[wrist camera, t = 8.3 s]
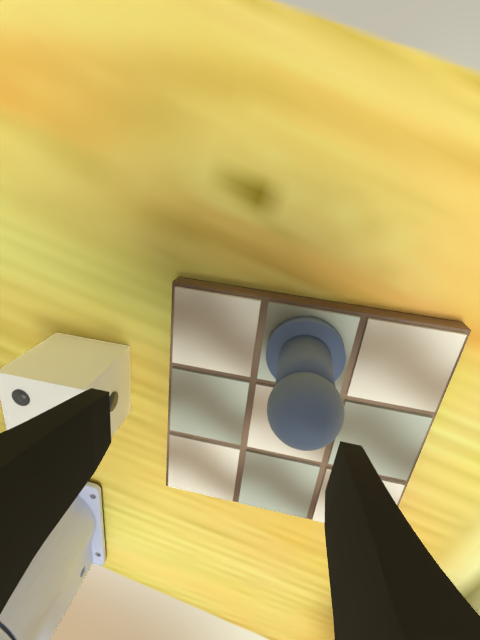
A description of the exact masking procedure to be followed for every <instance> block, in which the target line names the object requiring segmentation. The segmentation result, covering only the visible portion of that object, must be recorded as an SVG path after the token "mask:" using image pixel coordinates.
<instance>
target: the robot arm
mask: <svg viewBox="0 0 480 640" xmlns="http://www.w3.org/2000/svg"><path fill="white" fill-rule="evenodd" d="M110 443H111V423H110V396H109V392H108V391H103V390H98V389H94V388H90V389H88V390H86V391H84V392H82V393H80V394H78V395H76V396H74V397H72V398H70V399H68V400H66V401H64V402H62V403H61V404H59V405H57V406H55V407H53V408H51V409H49V410H47V411H45V412H43V413H41V414H39V415H37V416H35V417H33V418H31V419H30V420H28V421H26V422H24V423H22V424H19V425H17V426H15V427H13V428H11V429H9V430H7V431H4V432H2V433H0V640H51V638H52V636H53V635H54V633H55V631H56V629H57V627H58V625H59V624H60V622H61V620H62V618H63V616H64V615H65V613H66V611H67V609H68V607H69V606H70V604H71V602H72V600H73V598H74V596H75V595H76V593H77V591H78V589H79V587H80V586H81V584H82V582H83V580H84V578H85V576H86V574H87V573H88V571H89V569H90V567H91V565H92V564H96V565H103V564H104V563H105V561H106V552H105V538H104V525H103V511H102V497H101V488H100V486H99V485H97V484H95V483H91V482H88V481H89V479H90V478H91V477H92V475H93V474H94V472H95V471H96V469H97V467H98V465H99V464H100V462H101V460H102V458H103V457H104V455H105V453H106V451H107V449H108V447H109V445H110ZM325 537H326V547H327V558H328V568H329V578H330V587H331V597H332V607H333V617H334V633H335V640H480V616H479V615H478V614H477V612H476V611H475V610H474V609H473V608H472V607H471V605H470V604H469V603H468V602H467V601H466V599H465V598H464V597H463V596H462V595H461V593H460V592H459V591H458V590H457V588H456V587H455V586H454V584H453V583H452V582H451V581H450V579H449V578H448V577H447V576H446V574H445V573H444V572H443V571H442V569H441V568H440V567H439V565H438V564H437V563H436V561H435V560H434V559H433V557H432V556H431V555H430V553H429V552H428V550H427V549H426V548H425V546H424V545H423V543H422V542H421V540H420V539H419V538H418V536H417V535H416V533H415V532H414V530H413V529H412V527H411V526H410V524H409V523H408V521H407V520H406V518H405V517H404V515H403V514H402V512H401V511H400V509H399V507H398V506H397V504H396V503H395V501H394V500H393V498H392V496H391V495H390V493H389V492H388V490H387V488H386V487H385V485H384V483H383V481H382V480H381V478H380V476H379V475H378V473H377V471H376V469H375V468H374V466H373V464H372V462H371V461H370V459H369V457H368V455H367V454H366V452H365V450H364V449H363V447H362V446H361V445H356V444H351V443H347V442H342V441H340V444H339V447H338V450H337V453H336V457H335V460H334V463H333V467H332V470H331V473H330V477H329V480H328V483H327V486H326V490H325Z"/></svg>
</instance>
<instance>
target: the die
mask: <svg viewBox="0 0 480 640" xmlns="http://www.w3.org/2000/svg"><path fill="white" fill-rule="evenodd" d="M90 388H94V389H98V390H103V391H108V392H109V396H110V423H111V437H112V436H113V435H114V433H115V432H116V431H117V429H118V428H119V427H120V425H121V424H122V423H123V421H124V420H125V419H126V417H127V416H128V414H129V413H130V412H131V368H130V346H128V345H123V344H117V343H112V342H106V341H101V340H95V339H90V338H85V337H79V336H74V335H68V334H63V333H58V332H56V333H55V334H53V335H52V336H50V337H48V338H47V339H45V340H44V341H42V342H41V343H39V344H37V345H36V346H34V347H33V348H31V349H30V350H28V351H27V352H25V353H23V354H22V355H20V356H19V357H17V358H16V359H14V360H12V361H11V362H9V363H8V364H6V365H5V366H3V367H1V368H0V400H1V404H2V409H3V414H4V419H5V424H6V429H7V430H9V429H11V428H13V427H15V426H17V425H19V424H22V423H24V422H26V421H28V420H30V419H31V418H33V417H35V416H37V415H39V414H41V413H43V412H45V411H47V410H49V409H51V408H53V407H55V406H57V405H59V404H61V403H62V402H64V401H66V400H68V399H70V398H72V397H74V396H76V395H78V394H80V393H82V392H84V391H86V390H88V389H90Z"/></svg>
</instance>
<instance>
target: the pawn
mask: <svg viewBox="0 0 480 640" xmlns="http://www.w3.org/2000/svg"><path fill="white" fill-rule="evenodd" d="M345 361H346V354H345V348H344V344H343V340H342V338H341V336H340V334H339V333H338V331H337V330H336V329H335V328H334V327H333V326H332V325H331V324H330V323H328V322H327V321H325V320H323V319H320V318H317V317H313V316H297V317H293V318H290V319H288V320H286V321H284V322H282V323H281V324H280V325H278V326H277V327H276V328H275V329H274V331H273V332H272V334H271V336H270V338H269V340H268V345H267V349H266V362H267V366H268V369H269V371H270V373H271V374H272V375H273V377H274V378H275V379H276V381H275V386H274V388H273V389H272V391H271V393H270V395H269V398H268V402H267V417H268V422H269V424H270V427H271V429H272V431H273V432H274V434H275V435H276V436H277V437H278V438H279V439H280V440H281V441H282V442H283V443H284V444H286V445H287V446H289V447H291V448H294V449H297V450H302V451H313V450H318V449H321V448H323V447H325V446H327V445H328V444H330V443H331V442H332V441H333V440H334V439H335V438H336V437H337V435H338V434H339V432H340V430H341V428H342V426H343V422H344V404H343V401H342V398H341V396H340V394H339V392H338V390H337V389H336V386H335V381H336V380H337V379H338V378H339V376H340V375H341V373H342V371H343V369H344V366H345Z"/></svg>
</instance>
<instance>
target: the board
mask: <svg viewBox="0 0 480 640" xmlns="http://www.w3.org/2000/svg"><path fill="white" fill-rule="evenodd" d="M297 316H313V317H317V318H320V319H323V320H325V321H327V322H328V323H330V324H331V325H332V326H333V327H334V328H335V329H336V330H337V331H338V333H339V334H340V336H341V338H342V340H343V344H344V348H345V354H346V361H345V366H344V369H343V371H342V373H341V375H340V376H339V378H338V379H337V380H336V381H335V386H336V389H337V390H338V392H339V394H340V396H341V398H342V401H343V404H344V422H343V426H342V428H341V430H340V432H339V434H338V435H337V437H336V438H335V439H334V440H333V441H332V442H331V443H330V444H328V445H327V446H325V447H323V448H321V449H318V450H313V451H302V450H297V449H294V448H291V447H289V446H287V445H286V444H284V443H283V442H282V441H281V440H280V439H279V438H278V437H277V436H276V435H275V434H274V432H273V431H272V429H271V427H270V424H269V422H268V417H267V402H268V398H269V395H270V393H271V391H272V389H273V388H274V386H275V381H276V379H275V378H274V377H273V375H272V374H271V373H270V371H269V369H268V366H267V362H266V349H267V345H268V340H269V338H270V336H271V334H272V332H273V331H274V329H275V328H276V327H277V326H278V325H280V324H281V323H282V322H284V321H286V320H288V319H290V318H293V317H297ZM470 332H471V330H470V329H469V328H468V327H467V326H466V325H465V324H464V323H463V322H458V321H451V320H445V319H439V318H433V317H426V316H420V315H414V314H408V313H401V312H395V311H389V310H383V309H376V308H370V307H364V306H358V305H351V304H345V303H339V302H333V301H326V300H320V299H314V298H308V297H301V296H295V295H289V294H283V293H276V292H270V291H264V290H258V289H251V288H245V287H239V286H233V285H226V284H220V283H214V282H208V281H201V280H195V279H189V278H183V277H178V278H177V279H176V280H174V281H173V284H172V315H171V347H170V378H169V410H168V442H167V473H166V485H167V486H169V487H173V488H177V489H182V490H186V491H190V492H194V493H199V494H203V495H207V496H212V497H216V498H220V499H224V500H229V501H235V502H238V503H242V504H246V505H250V506H254V507H259V508H263V509H267V510H271V511H276V512H280V513H284V514H289V515H293V516H297V517H301V518H308V519H312V520H314V521H319V522H323V523H325V490H326V486H327V483H328V480H329V477H330V473H331V470H332V467H333V463H334V460H335V457H336V453H337V450H338V447H339V444H340V441H342V442H347V443H351V444H356V445H361V446H362V447H363V449H364V450H365V452H366V454H367V455H368V457H369V459H370V461H371V462H372V464H373V466H374V468H375V469H376V471H377V473H378V475H379V476H380V478H381V480H382V481H383V483H384V485H385V487H386V488H387V490H388V492H389V493H390V495H391V496H392V498H393V500H394V501H395V503H396V504H397V506H398V505H399V503H400V500H401V498H402V496H403V493H404V491H405V488H406V486H407V484H408V481H409V479H410V476H411V474H412V472H413V469H414V467H415V464H416V462H417V459H418V457H419V455H420V452H421V450H422V447H423V445H424V443H425V440H426V438H427V435H428V433H429V431H430V428H431V426H432V423H433V421H434V418H435V416H436V414H437V411H438V409H439V406H440V404H441V402H442V399H443V397H444V394H445V392H446V389H447V387H448V385H449V382H450V380H451V377H452V375H453V373H454V370H455V368H456V365H457V363H458V361H459V358H460V356H461V353H462V351H463V348H464V346H465V344H466V341H467V339H468V336H469V334H470Z"/></svg>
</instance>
